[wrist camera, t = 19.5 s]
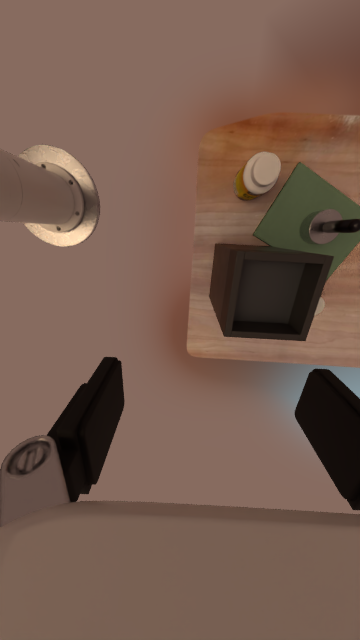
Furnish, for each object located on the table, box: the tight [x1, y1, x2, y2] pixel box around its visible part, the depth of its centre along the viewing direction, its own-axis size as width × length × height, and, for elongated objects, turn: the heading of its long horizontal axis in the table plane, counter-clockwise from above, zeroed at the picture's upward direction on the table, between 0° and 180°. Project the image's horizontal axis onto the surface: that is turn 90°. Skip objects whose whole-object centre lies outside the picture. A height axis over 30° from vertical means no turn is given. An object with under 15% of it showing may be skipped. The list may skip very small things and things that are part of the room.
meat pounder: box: [300, 209, 360, 244], centre depth 36 cm, size 6×6×12 cm
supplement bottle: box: [234, 152, 281, 200], centre depth 34 cm, size 6×6×10 cm
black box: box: [209, 244, 334, 341], centre depth 36 cm, size 12×12×20 cm
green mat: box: [253, 162, 360, 280], centre depth 41 cm, size 20×14×1 cm
